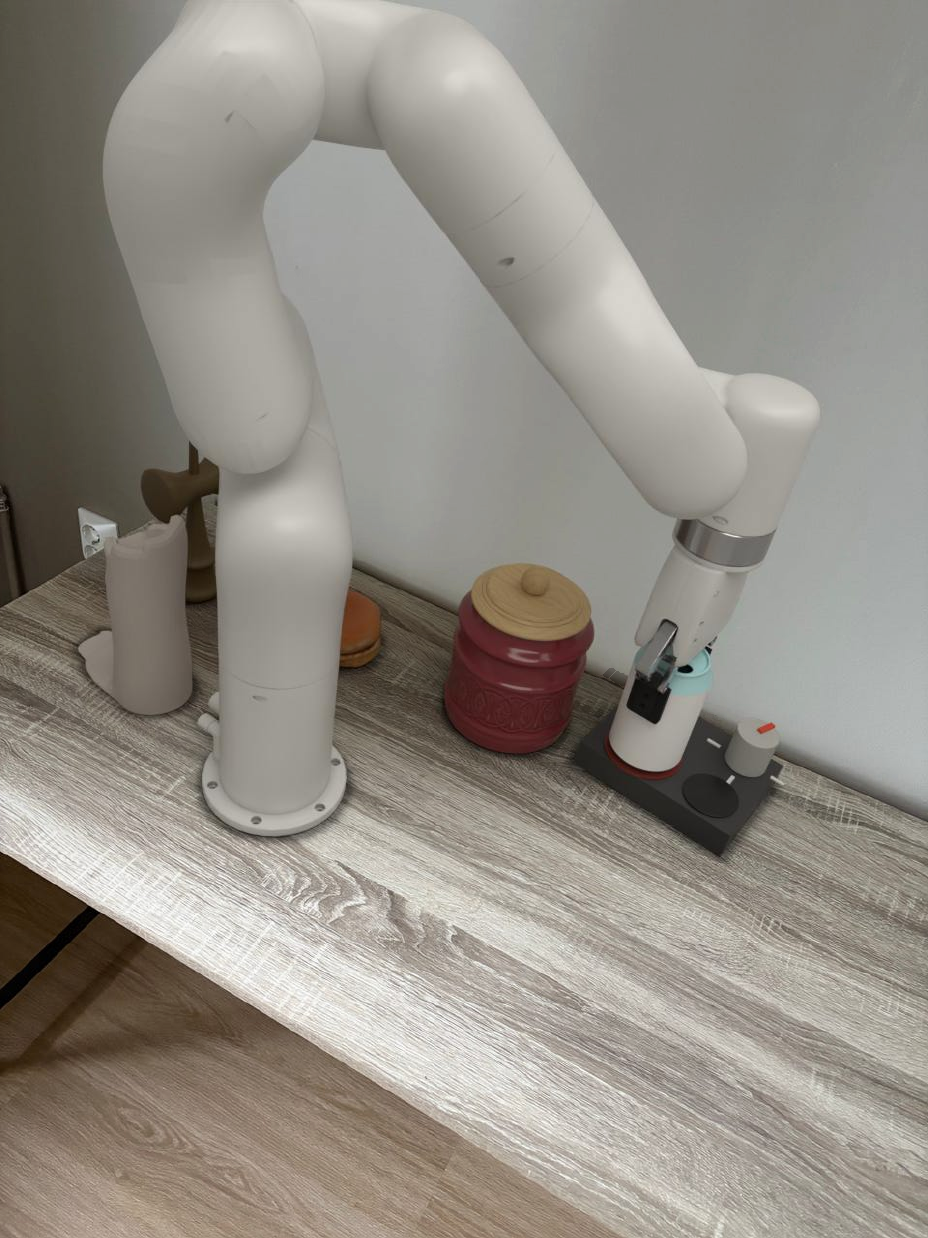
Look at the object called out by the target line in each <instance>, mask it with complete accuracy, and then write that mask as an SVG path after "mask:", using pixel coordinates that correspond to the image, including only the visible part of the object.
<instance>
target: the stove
mask: <svg viewBox="0 0 928 1238" xmlns="http://www.w3.org/2000/svg"><path fill="white" fill-rule="evenodd" d="M618 706H619V704H618V705H617V706H616V707H615V708H613V710H612V711H610V713H608V714H607V715H606V716H605V717H604V718H603V719H602V720H601V721H600V722H599V723H598V724H597V725H595V727H594V728H593V729H591V731H589V732H588V733H587V734H586V735H585V736H584V737H583V738H582V739H581V740H580V741H579V744H578V747H577V750H576V753H575V757H574V760H573V764H575V765H576V766H578V767H579V768H581V769H582V770H584V771H585V772H587V773H589V774H590V775H591V776H594V777H595V778H596V779H598V780H599V781H601V782H603V783H604V784H606V785H608V786H609V787H610V788H612V789H613V790H615V791H616V792H618V793H620V794H621V795H623V796H624V797H626V798H627V799H629V800H631V801H632V802H634V803H635V804H637V805H639V807H641V808H643V809H645V810H646V811H648V812H650V813H651V814H652V815H654V816H656V818H658V819H660V820H662V822H663V821H664V823H666V824H668V826H669V825H670V826H671V827H673V828H674V829H675V830H677V831H679V832H681V833H682V834H684V835H685V836H686V837H688V838H690V839H691V840H693V842H695V843H697V844H699V845H700V846H702V847H704V848H705V849H707V850H709V851H710V852H711V853H712V854H715V855H716V856H717V857H719V858H720V857H721V856H723V854H724V852H725V851H726V850H727V849H728V848H729V846H730V845H731V843H732V842H733V841H734V839H735V838H736V837H737V835H738V834H739V833H740V832H741V830H742V829H743V828H744V826H745V825H746V823H747V822H748V821H749V819H750V818H751V817H752V816H753V815H754V813H755V811H757V809H758V807H760V805H761V803H762V802H763V801H764V800H765V798H766V797H767V795H768V794H769V793H770V792H771V791H772V789H773V788H774V786H775V784H776V783H777V784H778V785H780V786H782V787H785V784H786V783H785V782H784V781H782V780H780V779H778V778H779V776H780V774H781V772H782V769H783V768H784V765H783V764H781V763H780V762H778V761H776V760H775V759H773V758H771V760H770V762H769V764H768V766H767V768H766V770H765V772H764V773H763V774H762V775H761V776H758V777H746V776H743V775H740V774H738V773H736V772H735V771H733V770H732V769H731V768H730V767H729V766H728V764H727V763H726V761H725V752H726V750H727V748H728V746H729V743H730V741H731V739H732V737H733V735H732V734H729V732H727V731H725V730H723V729H721V728H719V727H718V726H716V725H714V724H713V723H711V722H709V721H707V720H706V719H704V718H702V717H701V716H700V715H699V716H698V719H697V721H696V723H695V726H694V728H693V731H692V733H691V736H690V738H689V741H688V743H687V745H686V748H685V750H684V753H683V762H682V765H681V767H680V769H679V770H678V772H677V773H675V774H674V775H673V776H671V777H669V778H666V779H661V780H647V779H642V778H638V777H635V776H632V775H630V774H628V773H626V772H624V771H623V770H621V769H620V768H618V767H617V766H616V765H615V764H614V763H613V762H612V761H611V760H610V758H609V757H608V755H607V753H606V751H605V747H604V738H605V735H606V733H607V731H608V730H609V729H610V728H611V727H612V724H613V721H614V718H615V715H616V712H617V709H618ZM699 773H705V774H711V775H714V776H717V777H719V778H721V779H723V780H724V781H726V782H727V783H729V784H730V785H731V786H732V787H733V789H734V790H735V791H736V793H737V795H738V798H739V806H738V808H737V810H736V812H735V813H734V814H732V815H731V816H728V817H725V818H714V817H709V816H706V815H704V814H701V813H700V812H698V811H696V810H695V809H694V808H692V807H691V806H690V805H689V804H688V802H687V801H686V799H685V797H684V795H683V790H682V789H683V784H684V782H685V780H686V779H687V778H688V777H690V776H691V775H694V774H699ZM721 858H722V857H721Z"/></svg>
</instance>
